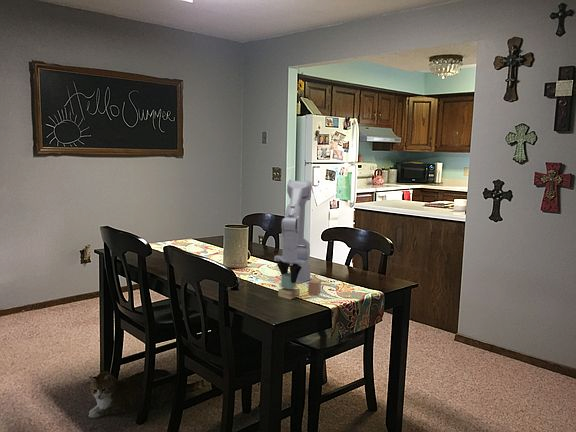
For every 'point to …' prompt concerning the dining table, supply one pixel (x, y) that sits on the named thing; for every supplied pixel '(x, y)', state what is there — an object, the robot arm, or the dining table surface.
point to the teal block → (287, 281)
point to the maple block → (288, 293)
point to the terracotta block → (314, 287)
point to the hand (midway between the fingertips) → (289, 281)
